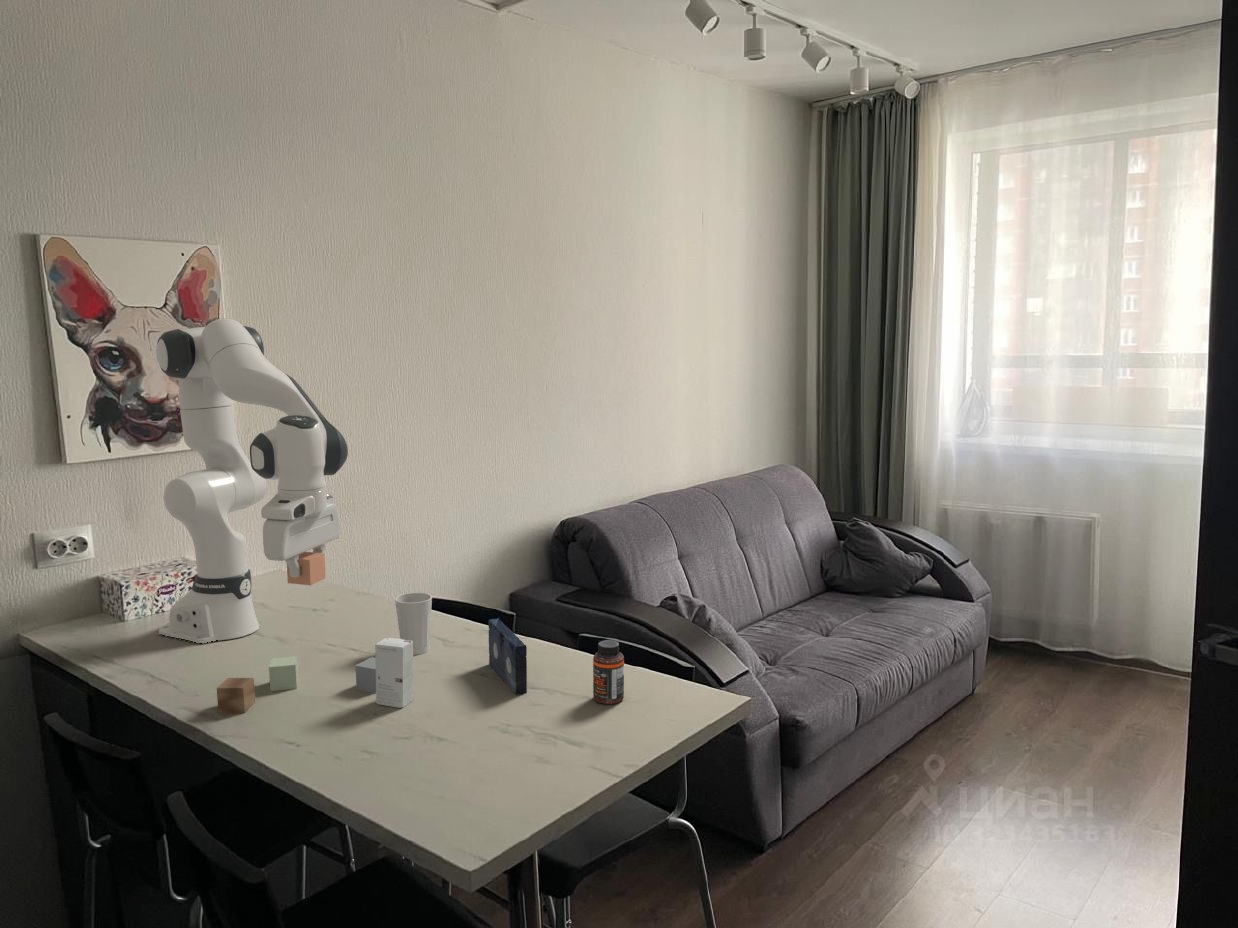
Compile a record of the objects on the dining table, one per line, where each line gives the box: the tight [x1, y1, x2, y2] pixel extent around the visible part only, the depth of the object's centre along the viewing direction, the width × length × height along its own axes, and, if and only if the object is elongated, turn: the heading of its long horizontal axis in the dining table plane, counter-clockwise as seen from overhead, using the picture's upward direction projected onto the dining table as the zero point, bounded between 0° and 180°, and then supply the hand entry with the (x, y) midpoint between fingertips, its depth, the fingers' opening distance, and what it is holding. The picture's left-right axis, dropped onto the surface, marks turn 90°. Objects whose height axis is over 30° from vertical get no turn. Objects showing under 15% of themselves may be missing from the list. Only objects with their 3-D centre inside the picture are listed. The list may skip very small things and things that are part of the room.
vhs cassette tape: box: [488, 617, 528, 696], centre depth 192 cm, size 18×3×10 cm, turn 23°
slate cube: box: [355, 656, 376, 694], centre depth 188 cm, size 5×5×5 cm
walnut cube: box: [216, 677, 256, 714], centre depth 179 cm, size 5×5×5 cm
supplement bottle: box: [592, 639, 625, 705], centre depth 181 cm, size 6×6×11 cm
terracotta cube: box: [286, 551, 327, 586], centre depth 182 cm, size 5×5×5 cm
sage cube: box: [268, 655, 300, 692], centre depth 189 cm, size 5×5×5 cm
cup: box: [394, 592, 433, 656], centre depth 208 cm, size 8×8×12 cm
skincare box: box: [374, 637, 414, 709], centre depth 180 cm, size 6×4×12 cm
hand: (306, 571), depth 182 cm, fingers closed on terracotta cube, 5 cm apart
